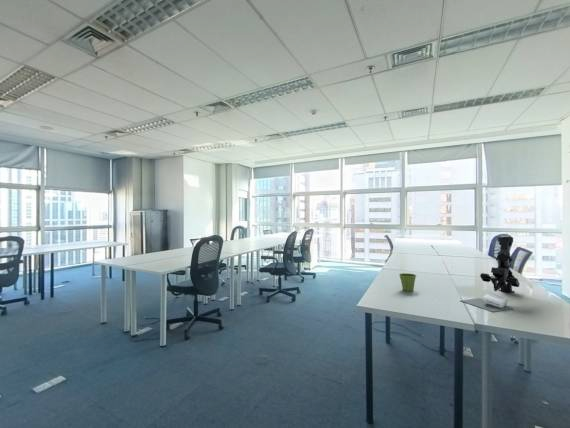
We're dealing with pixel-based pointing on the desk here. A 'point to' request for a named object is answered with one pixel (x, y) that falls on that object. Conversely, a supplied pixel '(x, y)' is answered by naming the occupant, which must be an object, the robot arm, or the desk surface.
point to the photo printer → (495, 300)
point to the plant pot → (407, 281)
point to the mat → (485, 305)
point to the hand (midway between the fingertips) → (495, 290)
